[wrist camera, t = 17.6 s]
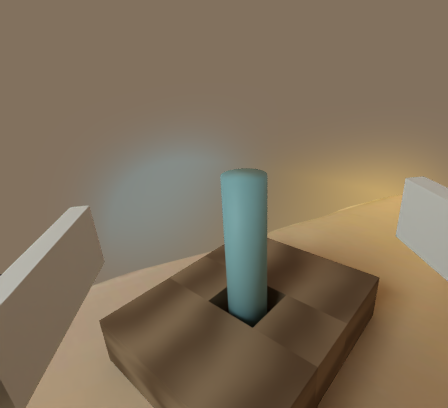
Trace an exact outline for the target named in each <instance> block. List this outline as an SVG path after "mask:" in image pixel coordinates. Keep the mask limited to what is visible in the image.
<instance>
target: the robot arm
mask: <svg viewBox="0 0 448 408" xmlns="http://www.w3.org/2000/svg"><path fill="white" fill-rule="evenodd" d="M396 237H397V238H399V239H400V240H401V241H402V242H403V243H404V244H406V245H407V246H408V247H409V248H410V249H411V250H412V251H414V252H415V253H416V254H417V255H418V256H419V257H420V258H422V259H423V260H424V261H425V262H426V263H427V264H428V265H430V266H431V267H432V268H433V269H434V270H435V271H436V272H438V273H439V274H440V275H441V276H442V277H443V278H445V279H446V280H447V281H448V188H447V187H444V186H442V185H440V184H438V183H436V182H434V181H432V180H430V179H428V178H426V177H413V178H406V180H405V186H404V191H403V197H402V203H401V208H400V214H399V220H398V226H397V231H396ZM104 262H105V261H104V258H103V254H102V251H101V247H100V243H99V240H98V236H97V232H96V229H95V225H94V222H93V218H92V214H91V211H90V207H89V206H80V207H70V208H69V209H68V210H67V211H66V212H65V213H64V214H63V215H62V216H61V217H60V218H59V219H58V220H57V221H56V222H55V223H54V224H53V225H52V226H51V227H50V228H49V229H48V230H47V231H46V232H45V233H44V234H43V235H42V236H41V237H40V238H39V239H38V240H37V241H36V242H34V244H32V245H31V246H30V247H29V248H28V249H27V250H26V251H25V252H24V253H23V254H22V255H21V256H20V257H19V258H18V259H17V260H16V261H15V262H14V263H13V264H12V265H11V266H10V267H9V268H8V269H7V270H6V271H5V272H4V273H3V274H0V408H26V406H27V404H28V402H29V400H30V398H31V397H32V395H33V393H34V391H35V389H36V387H37V386H38V384H39V382H40V380H41V378H42V376H43V374H44V373H45V371H46V369H47V367H48V365H49V363H50V362H51V360H52V358H53V356H54V354H55V352H56V351H57V349H58V347H59V345H60V343H61V341H62V340H63V338H64V336H65V334H66V332H67V330H68V329H69V327H70V325H71V323H72V321H73V319H74V318H75V316H76V314H77V312H78V310H79V308H80V306H81V305H82V303H83V301H84V299H85V297H86V295H87V294H88V292H89V290H90V288H91V286H92V284H93V283H94V281H95V279H96V277H97V275H98V273H99V272H100V270H101V268H102V266H103V264H104Z"/></svg>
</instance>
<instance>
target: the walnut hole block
mask: <svg viewBox="0 0 448 408" xmlns="http://www.w3.org/2000/svg"><path fill="white" fill-rule="evenodd" d="M378 282H379V277H376V276H373V275H371V274H368V273H365V272H362V271H359V270H357V269H354V268H351V267H348V266H345V265H342V264H340V263H337V262H334V261H331V260H328V259H325V258H323V257H320V256H317V255H314V254H311V253H309V252H306V251H303V250H300V249H297V248H294V247H292V246H289V245H286V244H283V243H280V242H277V241H275V240H272V239H269V238H267V314H266V315H265V316H264V317H263V318H262V319H261V320H260V321H259V322H258V323H257V324H256V325H255V326H254V327H253V328H252V327H250V326H249V325H247V324H245V323H244V322H242V321H240V320H239V319H237V318H235V317H234V316H232V315H230V314H229V310H228V293H227V276H226V260H225V244H224V245H222V246H221V247H219V248H217V249H216V250H214V251H212V252H211V253H209V254H208V255H206V256H204V257H203V258H201V259H199V260H198V261H196V262H194V263H193V264H191V265H190V266H188V267H186V268H185V269H183V270H181V271H180V272H178V273H177V274H175V275H173V276H172V277H170V278H168V279H167V280H165V281H163V282H162V283H160V284H159V285H157V286H155V287H154V288H152V289H150V290H149V291H147V292H145V293H144V294H142V295H141V296H139V297H137V298H136V299H134V300H132V301H131V302H129V303H128V304H126V305H124V306H123V307H121V308H119V309H118V310H116V311H114V312H113V313H111V314H110V315H108V316H106V317H105V318H103V319H101V320H100V321H99V322H100V325H101V329H102V332H103V336H104V339H105V343H106V347H107V350H108V354H109V357H110V360H111V361H112V362H113V363H114V364H115V365H116V366H117V367H118V369H119V370H120V371H121V372H122V373H123V374H124V375H125V376H126V377H127V378H128V379H129V381H130V382H131V383H132V384H133V385H134V386H135V387H136V388H137V389H138V390H139V391H140V393H141V394H142V395H143V396H144V397H145V398H146V399H147V400H148V401H149V402H150V404H151V405H152V406H153V407H154V408H316V407H317V405H318V404H319V402H320V400H321V399H322V397H323V396H324V394H325V392H326V391H327V389H328V387H329V386H330V384H331V382H332V381H333V379H334V377H335V376H336V374H337V373H338V371H339V369H340V368H341V366H342V364H343V363H344V361H345V359H346V358H347V356H348V355H349V353H350V351H351V350H352V348H353V346H354V345H355V343H356V341H357V340H358V338H359V337H360V335H361V333H362V332H363V330H364V328H365V327H366V325H367V323H368V322H369V320H370V319H371V317H372V315H373V311H374V305H375V300H376V294H377V288H378Z"/></svg>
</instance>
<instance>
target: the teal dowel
mask: <svg viewBox="0 0 448 408" xmlns="http://www.w3.org/2000/svg"><path fill="white" fill-rule="evenodd" d="M221 193H222V210H223V226H224V243H225V260H226V276H227V293H228V310H229V314H230V315H232V316H234V317H235V318H237V319H239V320H240V321H242V322H244V323H245V324H247V325H249V326H250V327H252V328H253V327H254V326H255V325H256V324H257V323H258V322H259V321H260V320H261V319H262V318H263V317H264V316H265V315H266V314H267V173H266V172H264V171H262V170H258V169H234V170H230V171H226V172H224V173H222V174H221Z"/></svg>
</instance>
